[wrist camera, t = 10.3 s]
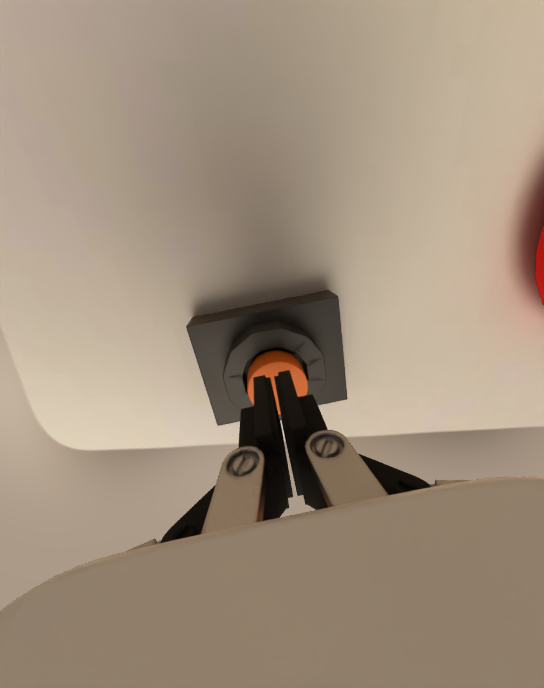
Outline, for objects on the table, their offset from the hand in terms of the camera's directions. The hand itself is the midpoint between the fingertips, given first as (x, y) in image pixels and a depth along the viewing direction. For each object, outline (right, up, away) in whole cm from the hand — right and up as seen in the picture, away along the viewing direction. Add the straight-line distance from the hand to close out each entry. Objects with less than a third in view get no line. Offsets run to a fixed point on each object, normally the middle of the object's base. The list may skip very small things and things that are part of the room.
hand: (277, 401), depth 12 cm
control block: (0, +2, +9) cm, 9 cm away
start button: (0, +1, +5) cm, 5 cm away
